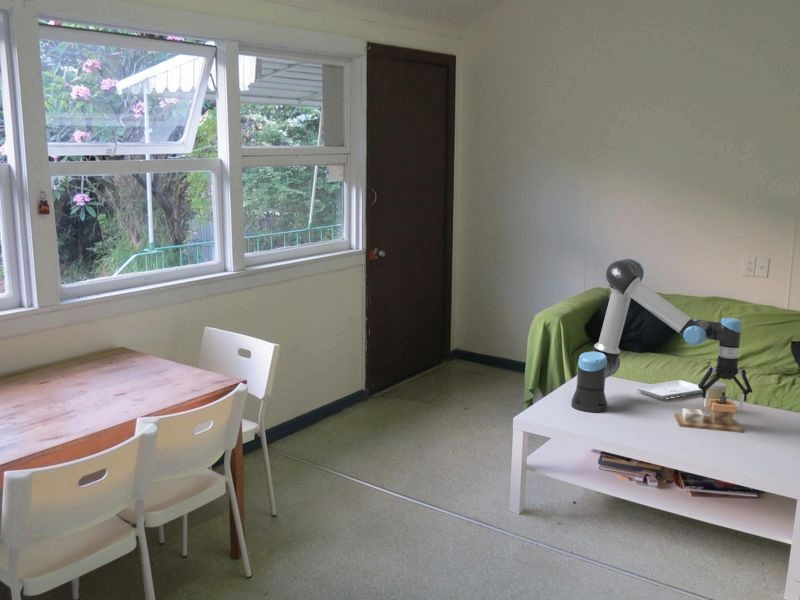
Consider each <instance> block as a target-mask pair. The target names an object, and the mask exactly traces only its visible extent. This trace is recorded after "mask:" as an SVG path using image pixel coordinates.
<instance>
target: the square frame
mask: <svg viewBox="0 0 800 600" xmlns="http://www.w3.org/2000/svg"><path fill="white" fill-rule="evenodd" d="M708 404H709V406H710V407H711V409H712V410H713V411H723V412H733V414H734V413H738V406H737V404H735V402H734V401H733V400H730V399H727V400H726V405H724V404H720V399H710V398H709V402H708Z"/></svg>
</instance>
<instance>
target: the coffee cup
mask: <svg viewBox="0 0 800 600" xmlns="http://www.w3.org/2000/svg"><path fill="white" fill-rule="evenodd" d="M709 381H710V380H707V382H706V383H705V385H706V384H707V383H708V382H709ZM707 390H708V391H709V392H708V402H709V398H710V399H720V396H726V392H727V384H726V383H724V382H722V381H719V380H717V381H716V382H715V383H714V384H713V385H712V386H711V387H710V388H708V389H707ZM708 402H707V407H705V406H704V398H703V397H702V410H703V409H704V410H703V411H705V410H706V412H708V411H709V413H711V407H710V406H709V404H708Z"/></svg>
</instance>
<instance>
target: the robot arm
mask: <svg viewBox="0 0 800 600" xmlns="http://www.w3.org/2000/svg"><path fill="white" fill-rule="evenodd" d="M642 265H643V264H641V263H640V262H639V261H638V260H636V259H633V258H624V259H621V260H615V261H614V262H612V263H610V264H609V266H607V268H606V272H605V278H606V280H607V283H608V284H609V285H608V288H609V289H610V291H611V293H610V294H609V295H610V296H609V299H608V305H607V308H606V311H605V316H604V320H603V322H602V323H603V324H602V327H601V331H600V336H599V339H598V342H596V343H595V344H593V345H594V346H593V349H592V351H585V352H583V353H581V354H580V355H579V358H578V361H577V362H578V363H577V376H576V377H577V378H576V389H575V390H574V393H573V396H572V398H571V403H570V405H571V407H572V408H573V409H575V410H578V411H581V412H589V413H601V412H605V411H607V409H608V401H607V397H606V393H605V385H606V379H607V378H610V377H612V376H614V375H615V374H616V372H617V371H618V370H619V369H620V366H621V359H620V355H621V350H620V348H619V345H620V341H621V338H622V334H623V329H624V327H625V322H626V320H627V319H626V318H627V315H628V311H629V307H630V304H631V300H632V299H633V300H634V301H635V302H637V303H638V304H639V305H641V306H642V307H643V308H644V309H646V310H648V311H649V312H650V314H652V315H654V316H655V317H657V318H658V319H659V320H661V321H662V322H663V323H665V324H666V325H667V326H669V327H670V328H671V329H673V330H674V331H676V332H677V333H678V334H679V335H680V336H682V337H683V339H684V341H685V342H686V343H687V344H689V345H691V346H697V345H700V344H702V343H704V342H705V341H707V340H710V341H719V342H718V352H717V353H718V354H717V355H718V356H717V362H716V367H712V366H708V367H707V371H706V373H705V374H704V376H703V378H701V381H700V382H699V384H697V385H698V387H699V388H700V389H702V392H701V397H702V399H703V398H704V406H705V407H707V402H708V392H709V391H708V390H707V389H708V388H710V387H711V386H712V385H713V384H714V383H715V382H716V381H719V380H720V379H721V380H728V381H730V380H733V381H734V382H735V383H736V384H737V386H738V387H739V389H740V390H741V392H740V395H739V396H740V397H739V407H738V408H739V410H744V402H746V401H747V398H748V395H749V393H750V394H751V393H753V389H752V386H751V384H750V382H749V380H748V377H747V376H746V375H747V373H746V370H745V369H744V368H741V369H738V365H739V364H738V363H739V358H738V357H739V353H740V345H741V335H742V321H741V320H740V319H738V318H736V317H735V318H734V317H723V318H721V320H720V321H711V320H704V319H694V318H693V319H692V318H691V317H690V316H689V315H688V314H686V313H684V312H683V311H682V310H681V309H679V308H678V307H676V306H675V305H674V304H672V303H671V302H669V301H668V300H667V299H665V298H664V297H662V296H661V295H660V294H659V293H657V292H656V291H655V290H653V289H652V288H650V286H648V285H646V284H645V283H643V282H642V280H643V279H644V275H645V270H644V267H643V266H642ZM714 372H716V374H715V375H714V376H713V377H711V376H712V374H713V373H714ZM738 374H739V375H741V377H742V380H743V382H744V384H745V386H743V384H742V383H741V382H740V381H739V379H738V377H737V376H736V375H738ZM710 377H711V379H709V378H710ZM707 381H709V382H708V383H707V384H706V385H705V383H706V382H707ZM745 387H746V388H745Z"/></svg>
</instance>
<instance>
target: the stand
mask: <svg viewBox="0 0 800 600" xmlns="http://www.w3.org/2000/svg"><path fill="white" fill-rule="evenodd" d="M727 398H728V396H726V395H725V396H720V404H724V405H726V400H728V399H727ZM681 411H682V412H681V413H680V412H679V413H678V412H675V413H674V414H673V415H674V416H673V417H674V418H675V421H676V422H677V423H676V424H678V426H679V427H682V428H692V429H693V428H694V429H703V430H712V431H713V430H715V431H724V432H732V433H733V432H735V433H744V429H743V427H742V426H741V425H740V423H738V421H737V420H736V418H734V412H723V411H713V410H712V409H711V412H709V413H710V414H709V415H710V416H709V415H704V412H703V411H702V410H701V409H696V408H684V407H682V410H681Z"/></svg>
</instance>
